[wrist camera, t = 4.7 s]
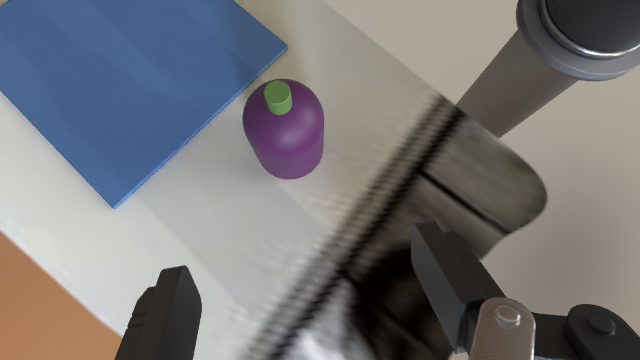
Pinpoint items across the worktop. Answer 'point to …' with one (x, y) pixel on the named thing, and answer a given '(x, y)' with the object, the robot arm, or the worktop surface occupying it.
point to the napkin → (127, 77)
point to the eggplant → (285, 127)
